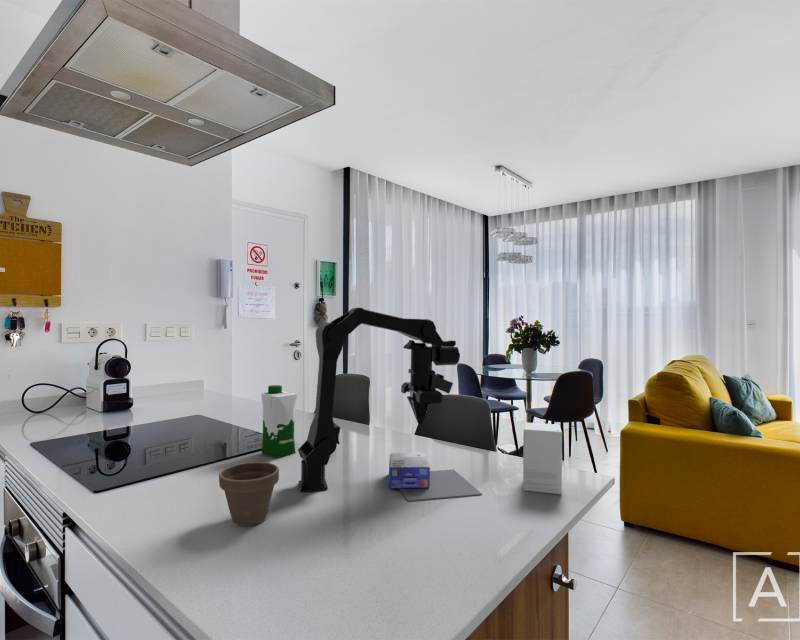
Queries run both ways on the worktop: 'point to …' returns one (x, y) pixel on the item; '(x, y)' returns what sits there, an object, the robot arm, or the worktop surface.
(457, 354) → the robot arm
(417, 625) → the worktop surface
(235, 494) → the flower pot
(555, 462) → the supplement box
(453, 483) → the charcoal mat
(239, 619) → the worktop surface
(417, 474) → the ink cartridge box
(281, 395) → the milk carton
